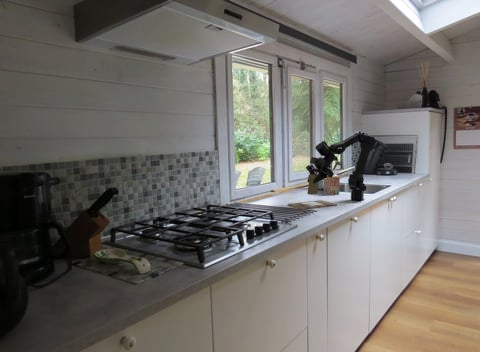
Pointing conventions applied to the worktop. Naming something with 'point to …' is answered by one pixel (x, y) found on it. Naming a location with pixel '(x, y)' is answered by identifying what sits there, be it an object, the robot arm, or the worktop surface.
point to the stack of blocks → (331, 185)
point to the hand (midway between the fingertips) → (310, 182)
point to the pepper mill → (312, 185)
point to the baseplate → (312, 204)
